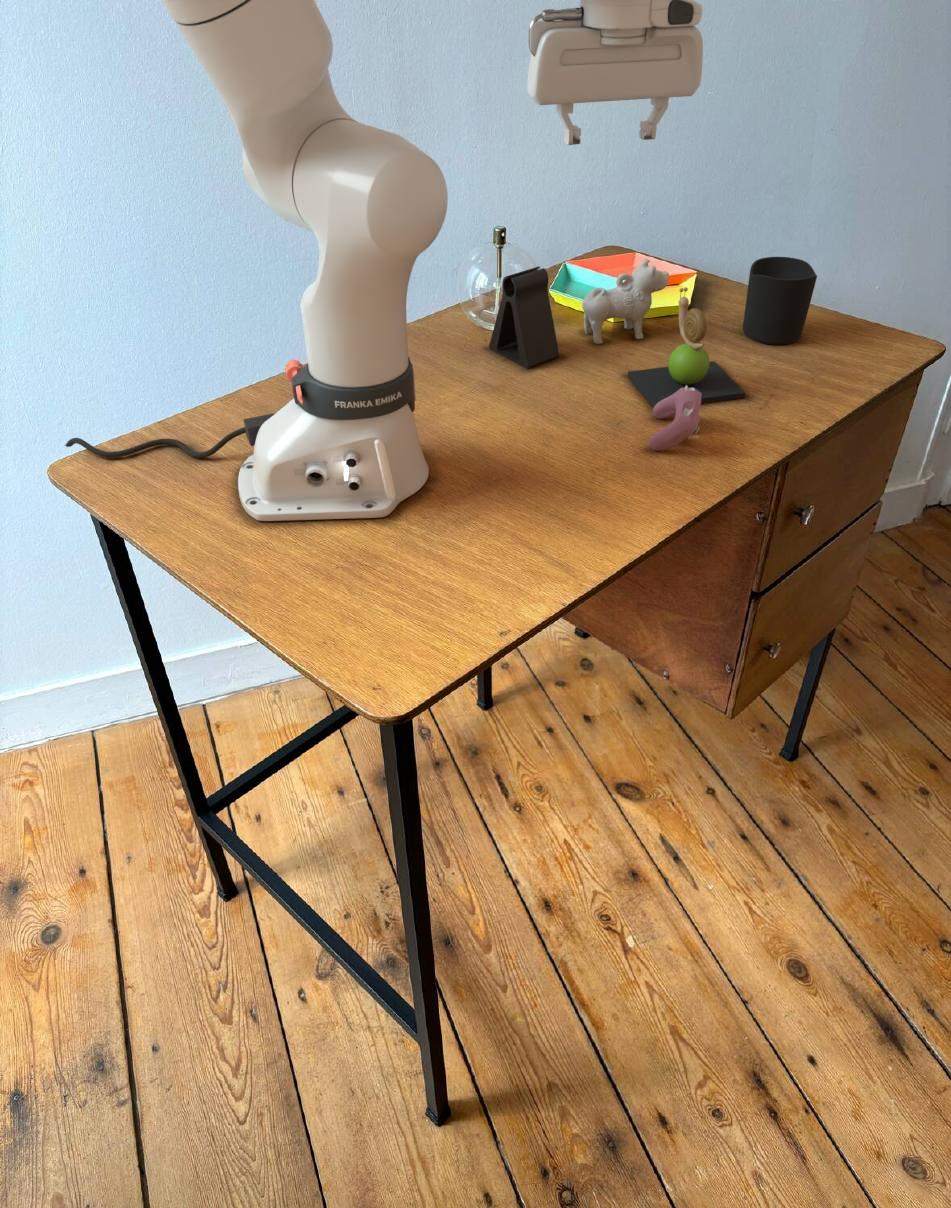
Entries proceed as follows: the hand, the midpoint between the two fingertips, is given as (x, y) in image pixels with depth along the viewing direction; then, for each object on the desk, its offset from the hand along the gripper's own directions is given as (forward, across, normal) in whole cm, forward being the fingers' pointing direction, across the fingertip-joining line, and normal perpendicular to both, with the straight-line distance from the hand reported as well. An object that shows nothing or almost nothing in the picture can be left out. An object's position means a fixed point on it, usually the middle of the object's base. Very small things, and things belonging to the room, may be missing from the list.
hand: (609, 141), depth 114 cm
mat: (+31, +12, -6) cm, 33 cm away
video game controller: (+31, +5, -18) cm, 36 cm away
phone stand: (+31, -7, +10) cm, 33 cm away
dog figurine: (+31, +9, +13) cm, 35 cm away
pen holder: (+31, +31, +7) cm, 44 cm away
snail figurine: (+30, +11, -6) cm, 33 cm away
